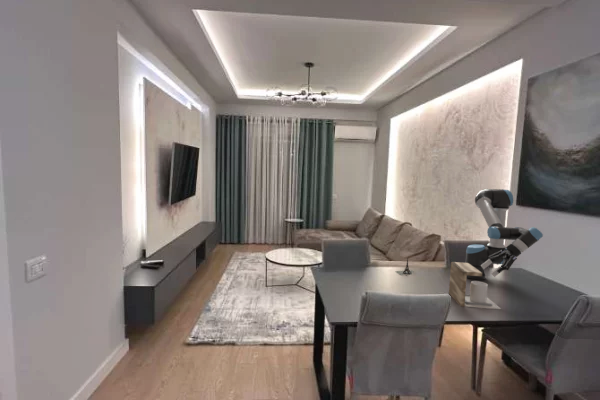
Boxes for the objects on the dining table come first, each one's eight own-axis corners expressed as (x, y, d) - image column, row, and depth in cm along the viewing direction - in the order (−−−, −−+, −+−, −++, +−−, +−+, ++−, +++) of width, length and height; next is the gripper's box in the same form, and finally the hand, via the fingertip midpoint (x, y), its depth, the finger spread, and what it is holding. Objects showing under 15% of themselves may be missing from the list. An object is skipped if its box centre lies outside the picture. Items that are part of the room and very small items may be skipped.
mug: (476, 296, 195) (477, 278, 194) (489, 304, 183) (491, 285, 182) (462, 296, 194) (464, 279, 193) (475, 304, 182) (477, 285, 181)
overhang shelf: (465, 294, 198) (468, 262, 197) (479, 307, 179) (482, 272, 177) (448, 293, 200) (450, 261, 198) (460, 306, 180) (463, 271, 178)
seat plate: (484, 295, 197) (484, 293, 197) (500, 309, 177) (500, 306, 177) (453, 293, 199) (454, 291, 199) (466, 306, 180) (466, 304, 179)
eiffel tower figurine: (411, 271, 246) (412, 254, 245) (419, 275, 236) (420, 257, 235) (394, 271, 243) (395, 254, 242) (401, 276, 233) (402, 258, 232)
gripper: (533, 259, 177) (501, 283, 181) (509, 247, 202) (482, 268, 205) (524, 249, 177) (492, 273, 181) (501, 238, 202) (474, 260, 205)
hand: (487, 271), depth 193 cm, fingers open, 13 cm apart
